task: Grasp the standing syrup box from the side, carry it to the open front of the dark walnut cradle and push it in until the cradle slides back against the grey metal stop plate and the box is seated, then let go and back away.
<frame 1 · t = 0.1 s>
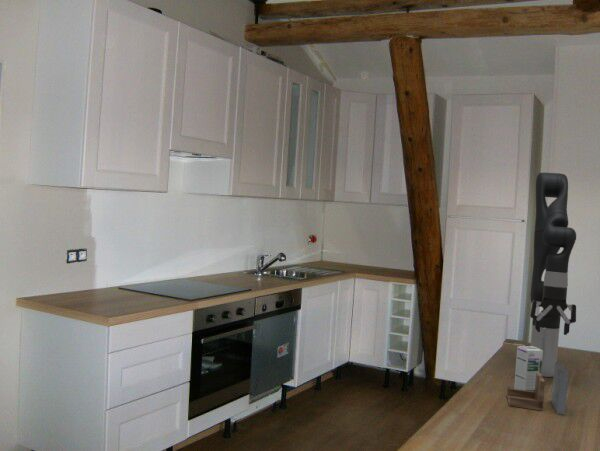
hand: (551, 333, 217), 17 cm above the countertop, tool pointing down, fingers open, 8 cm apart
stop plate: (557, 408, 191), on the countertop
cradle: (525, 389, 193), point 4 cm above the countertop, slide at 0.0 cm
syrup box: (526, 392, 206), on the countertop
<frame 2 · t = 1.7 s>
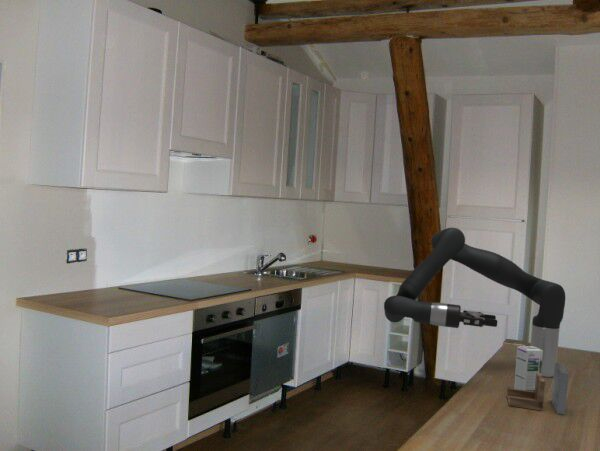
hand: (496, 321, 207), 22 cm above the countertop, tool horizontal, fingers open, 8 cm apart
nothing on the countertop moved.
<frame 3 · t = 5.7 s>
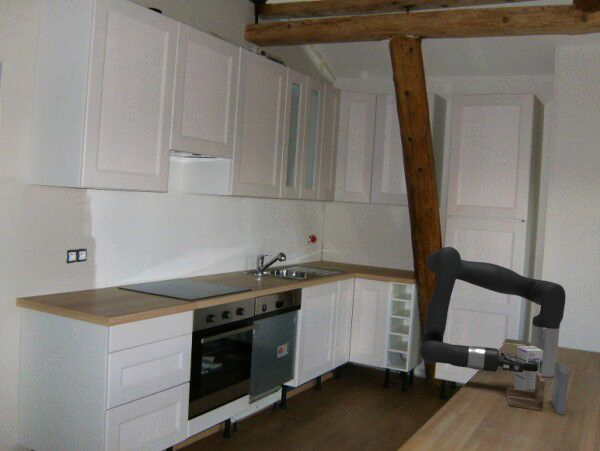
hand: (535, 365, 205), 9 cm above the countertop, tool horizontal, fingers closed on syrup box, 7 cm apart
syrup box: (526, 392, 206), on the countertop, touching gripper
everything else where it was.
when the fingers open (10 cm above the countertop, at t = 12.4 s): syrup box stays where it is, resting on cradle.
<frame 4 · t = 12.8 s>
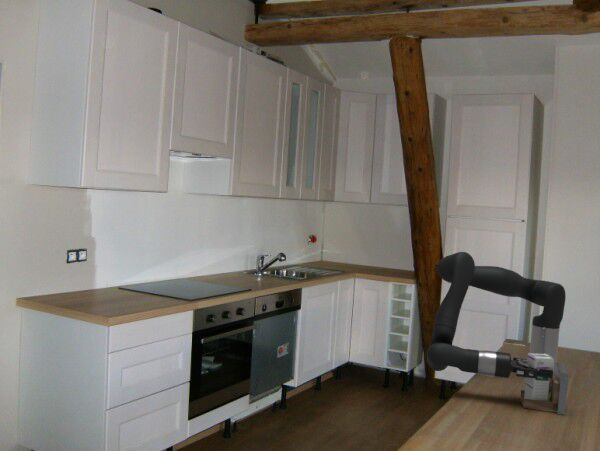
hand: (551, 371, 191), 11 cm above the countertop, tool horizontal, fingers open, 7 cm apart
cradle: (539, 390, 192), point 4 cm above the countertop, slide at 4.0 cm, touching syrup box
syrup box: (536, 403, 193), resting on cradle, touching gripper
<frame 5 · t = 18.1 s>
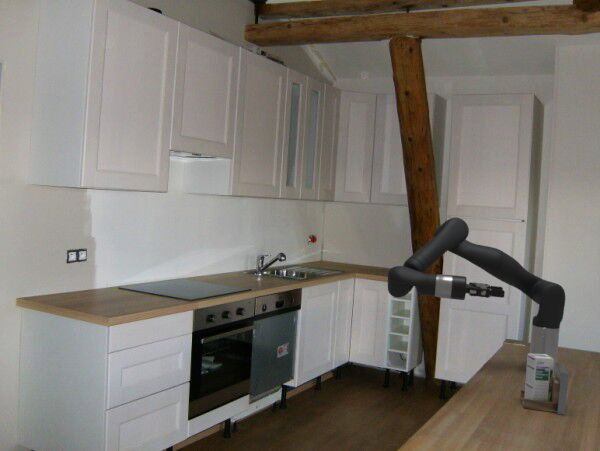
hand: (503, 292, 201), 32 cm above the countertop, tool horizontal, fingers open, 8 cm apart
syrup box: (536, 403, 193), resting on cradle
everything else where it was.
at the end: cradle slide at 4.0 cm; syrup box 0.7 cm off-centre on the cradle, point 0.4 cm above the cradle's base; syrup box tilted 0° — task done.
